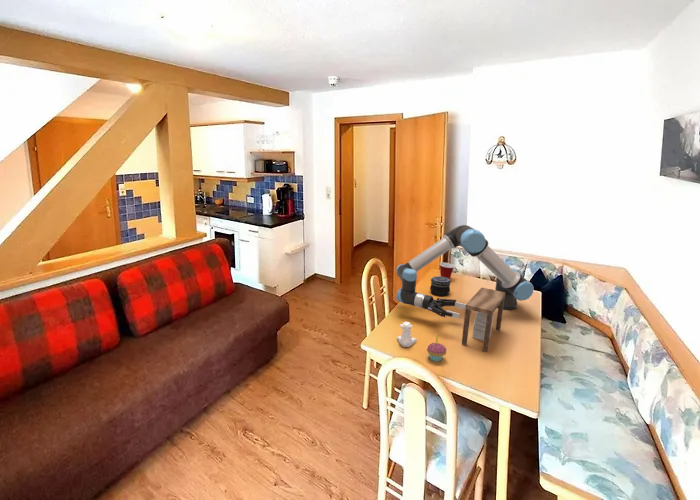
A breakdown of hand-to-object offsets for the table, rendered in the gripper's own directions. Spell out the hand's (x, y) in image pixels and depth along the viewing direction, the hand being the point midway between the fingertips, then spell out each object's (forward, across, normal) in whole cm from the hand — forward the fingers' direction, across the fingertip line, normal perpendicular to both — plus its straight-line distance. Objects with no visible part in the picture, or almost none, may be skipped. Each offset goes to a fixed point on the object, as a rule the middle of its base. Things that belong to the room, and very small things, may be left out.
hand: (463, 311), depth 194 cm
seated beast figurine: (-18, +28, -12) cm, 35 cm away
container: (-28, -45, -11) cm, 54 cm away
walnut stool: (+10, 0, -11) cm, 15 cm away
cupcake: (-1, +33, -12) cm, 35 cm away
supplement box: (+10, 0, -11) cm, 15 cm away
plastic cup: (-34, -72, -11) cm, 80 cm away
